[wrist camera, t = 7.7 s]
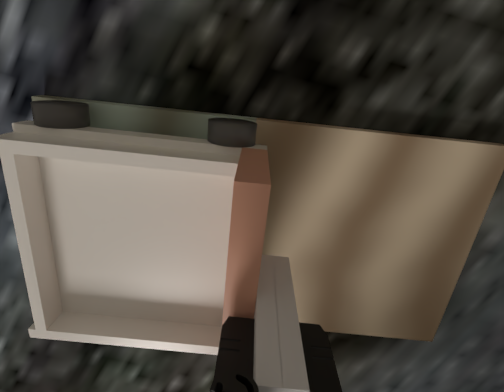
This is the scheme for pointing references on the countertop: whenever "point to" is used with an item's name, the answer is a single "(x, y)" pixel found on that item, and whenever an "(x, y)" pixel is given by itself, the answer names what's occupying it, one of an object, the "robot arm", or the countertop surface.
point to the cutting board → (356, 213)
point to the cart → (136, 228)
